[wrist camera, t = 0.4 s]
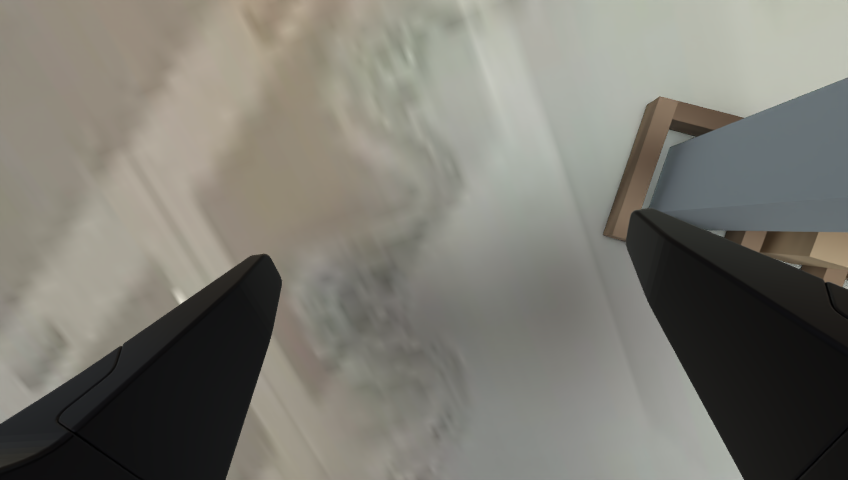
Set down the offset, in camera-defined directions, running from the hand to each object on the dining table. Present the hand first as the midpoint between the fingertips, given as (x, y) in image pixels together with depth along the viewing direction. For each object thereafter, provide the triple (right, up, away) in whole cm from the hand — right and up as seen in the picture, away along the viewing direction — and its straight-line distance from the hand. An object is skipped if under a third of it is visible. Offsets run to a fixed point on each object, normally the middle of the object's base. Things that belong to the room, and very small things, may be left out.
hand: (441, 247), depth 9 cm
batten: (+15, +3, +13) cm, 20 cm away
